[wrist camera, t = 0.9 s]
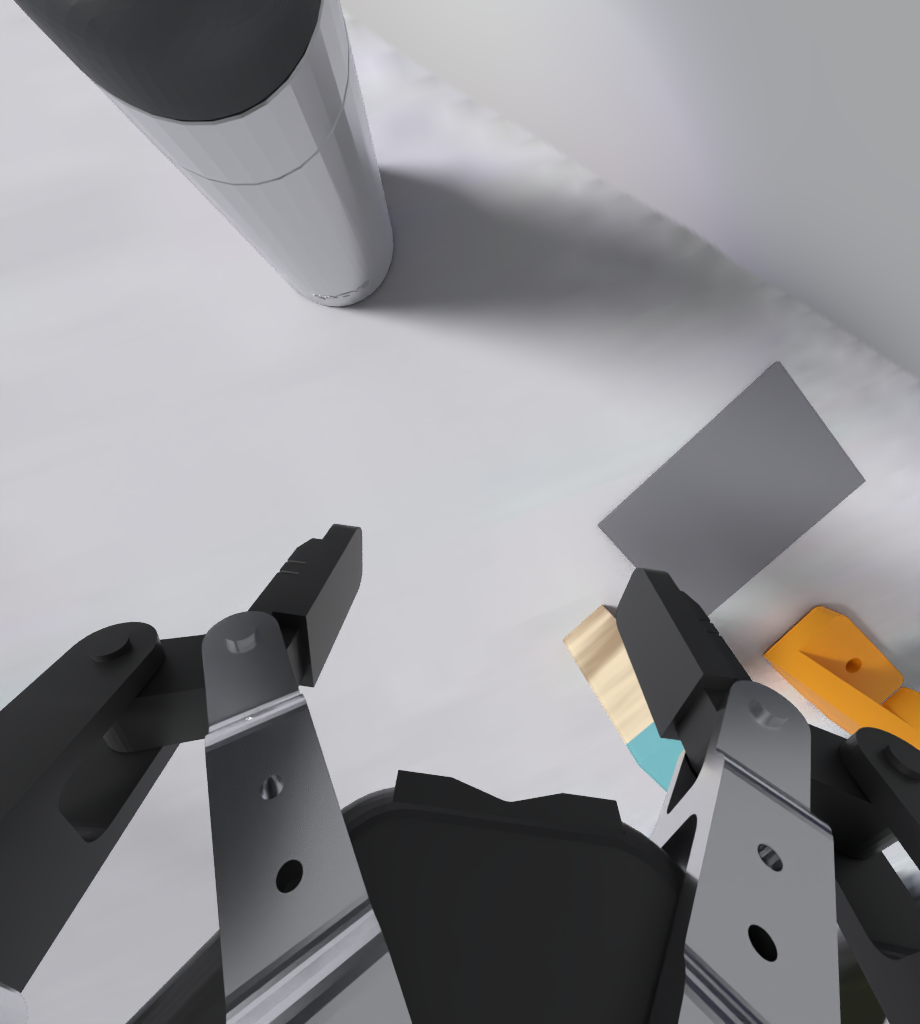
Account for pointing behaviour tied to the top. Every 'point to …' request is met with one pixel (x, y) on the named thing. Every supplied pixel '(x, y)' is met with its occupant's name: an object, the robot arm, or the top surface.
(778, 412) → the rubber mat
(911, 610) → the top surface
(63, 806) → the robot arm
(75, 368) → the top surface
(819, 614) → the bracket
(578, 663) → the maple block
